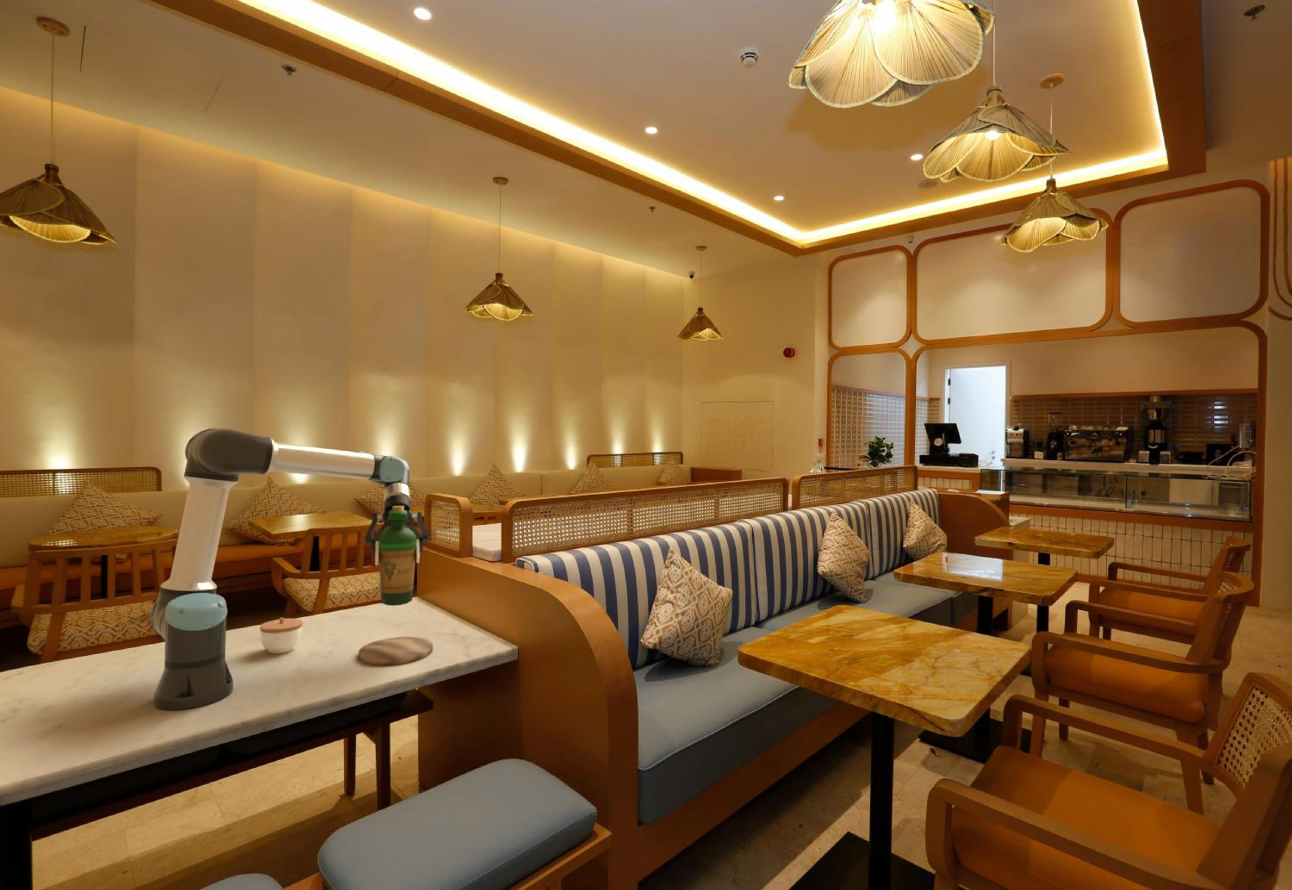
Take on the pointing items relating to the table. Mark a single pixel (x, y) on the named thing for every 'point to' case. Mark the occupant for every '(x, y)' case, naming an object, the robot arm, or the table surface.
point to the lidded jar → (281, 634)
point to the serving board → (395, 651)
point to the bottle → (397, 559)
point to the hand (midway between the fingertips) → (397, 561)
